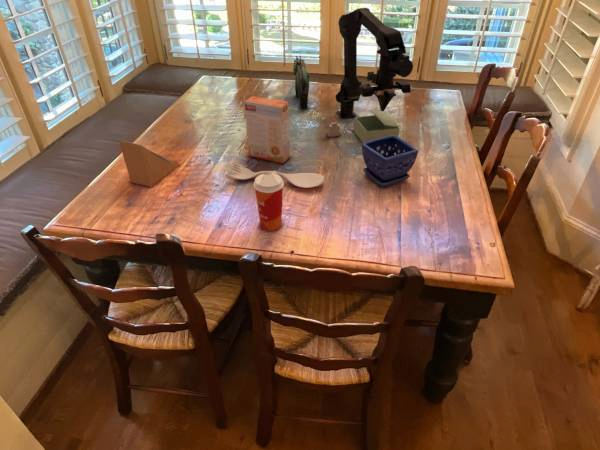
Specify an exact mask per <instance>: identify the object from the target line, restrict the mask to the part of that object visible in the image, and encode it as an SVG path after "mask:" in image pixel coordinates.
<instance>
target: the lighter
mask: <svg viewBox="0 0 600 450" xmlns="http://www.w3.org/2000/svg"><path fill="white" fill-rule="evenodd" d="M321 121H322V123H323V125H324V127H325V128H326V129H327V136H328V138H333V137H340V131H341V130H340V127H341V126H340V124H339V123H337V122H336V121H335V122H331V124H329V122H328V120H327V118H326V117H325V116H322V117H321Z"/></svg>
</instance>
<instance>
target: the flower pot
mask: <svg viewBox="0 0 600 450" xmlns="http://www.w3.org/2000/svg"><path fill="white" fill-rule="evenodd" d="M378 148H379V149H378ZM361 154H362V158H363V161H364V164H365V166H366V167H363V169H362V171H363V172H364V174H365V175H366V176H368V177H369V178H370V179H371V180H373V181H374V182H375V183H376V184H377V185H378V186H380V187H381V188H385V187H388V186H392V185H394V184H397V183H400V182H404V181H406V180H407V179H409V178H410V176H411V174H409V172H410V171H411V170H412V168H413V166H414V164H415V162H416V160H417V157H418V155H419V150H418V148H416V147H415V146H413V145H412V144H410V143H408V142H407V141H406V140H404V139H402V138H400V137H399V136H398V137H397V136H395V135H390V136H386V137H382V138H378V139H375V140H371V141H368V142H365V143H363V142H362V143H361Z"/></svg>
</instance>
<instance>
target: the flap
mask: <svg viewBox="0 0 600 450" xmlns="http://www.w3.org/2000/svg"><path fill="white" fill-rule="evenodd" d="M370 111H371V113H372V115H375V116H376V117H377V118H378V119H379V120H380V121H381V122H382V123H383V124H384V125H386V126H394V127H399V128H400V125H399V124H398V123H397V122H396V121H395V120H394V119H393V118H392V117H391V116H390V115H389V114H388V113H387V112H386V111H381V110H374V109H373V110H372V109H371V110H370Z"/></svg>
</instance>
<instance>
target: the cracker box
mask: <svg viewBox="0 0 600 450" xmlns="http://www.w3.org/2000/svg"><path fill="white" fill-rule="evenodd" d="M289 108H290V107H289V101H284V100H279V99H272V98H266V97H260V96H254V95H252V96H251V97H249V98H247V100H245V101H244V109H245V111H244V112H245V122H246V135H247V136H246V137H247V146H248V147H247V148H248V156H249V157H250V158H255V159H259V160H265V161H269V162H274V163H278V164H285V162H286V161H288V159H290V157H291V152H290V151H291V150H290V148H291V146H290V145H291V143H290V109H289Z"/></svg>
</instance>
